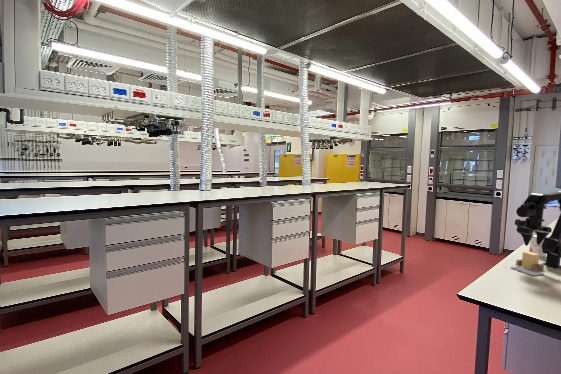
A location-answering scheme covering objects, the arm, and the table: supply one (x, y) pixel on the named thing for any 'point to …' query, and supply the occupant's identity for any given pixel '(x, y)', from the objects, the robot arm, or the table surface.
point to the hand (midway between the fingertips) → (532, 245)
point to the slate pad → (527, 271)
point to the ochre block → (529, 259)
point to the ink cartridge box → (536, 246)
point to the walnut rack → (534, 266)
